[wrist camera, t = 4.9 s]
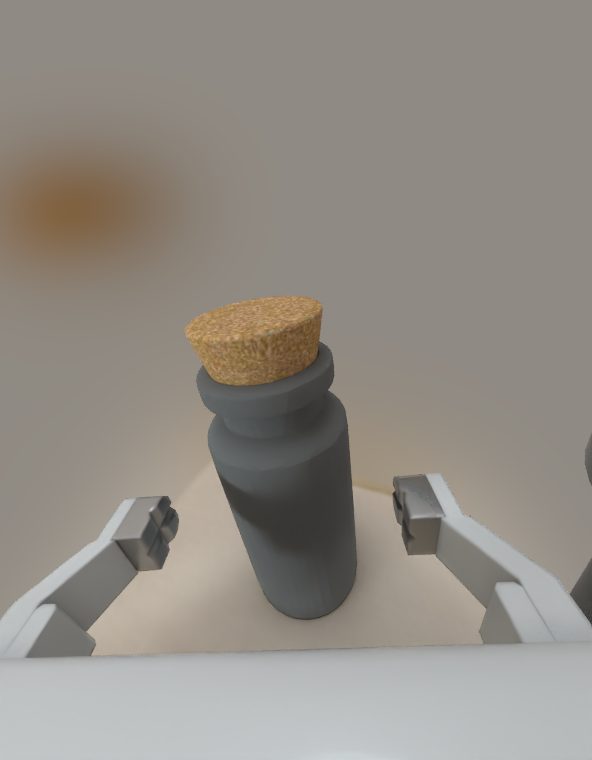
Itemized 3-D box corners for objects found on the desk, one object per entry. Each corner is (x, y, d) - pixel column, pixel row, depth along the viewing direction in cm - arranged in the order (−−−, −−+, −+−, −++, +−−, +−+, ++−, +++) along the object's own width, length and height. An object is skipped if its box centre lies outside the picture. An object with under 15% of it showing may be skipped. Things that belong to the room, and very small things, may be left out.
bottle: (247, 617, 15) (125, 354, 8) (268, 516, 20) (206, 300, 13) (362, 625, 14) (343, 333, 7) (353, 516, 19) (337, 284, 12)
